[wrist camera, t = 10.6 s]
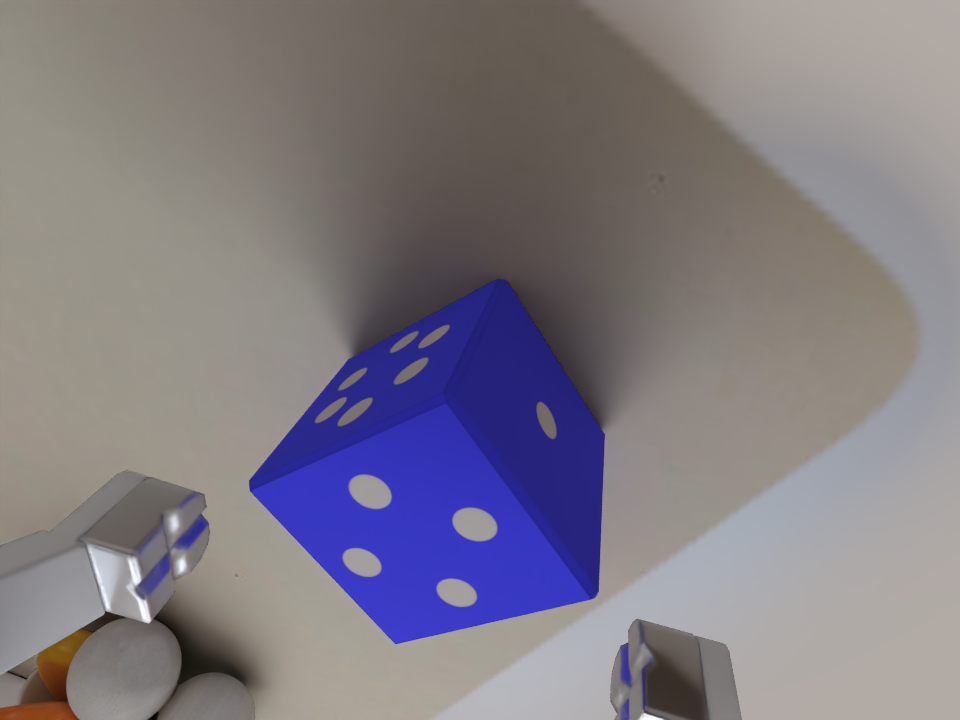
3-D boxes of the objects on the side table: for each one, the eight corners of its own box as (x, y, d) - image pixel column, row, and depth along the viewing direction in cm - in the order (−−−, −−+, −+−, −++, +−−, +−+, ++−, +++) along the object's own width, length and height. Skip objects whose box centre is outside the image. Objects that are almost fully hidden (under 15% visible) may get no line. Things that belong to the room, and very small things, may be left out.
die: (607, 435, 14) (602, 602, 10) (451, 491, 17) (394, 649, 12) (504, 273, 13) (448, 392, 9) (347, 358, 15) (240, 488, 11)
